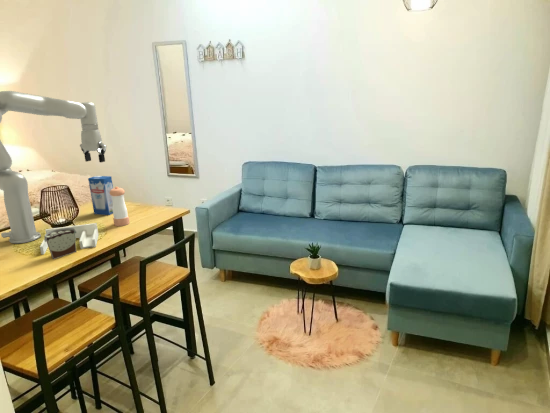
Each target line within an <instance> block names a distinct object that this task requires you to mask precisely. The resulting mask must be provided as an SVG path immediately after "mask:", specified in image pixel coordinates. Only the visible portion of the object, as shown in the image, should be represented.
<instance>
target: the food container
mask: <svg viewBox="0 0 550 413" xmlns="http://www.w3.org/2000/svg"><path fill="white" fill-rule="evenodd" d="M75 233H76V230H75V229H74V228H62V229H57V230H53V231H50V232H48V233H46V232H45V234H44V238H43V240H44V241H45V242H46V241H47V244H48V249H49V252H50V253H49V254H50V255H51V259H53V260H56V259H59V258H62V257H65V256H69V255H71V254H74V253H77V243H76V242H77V239H75Z"/></svg>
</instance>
